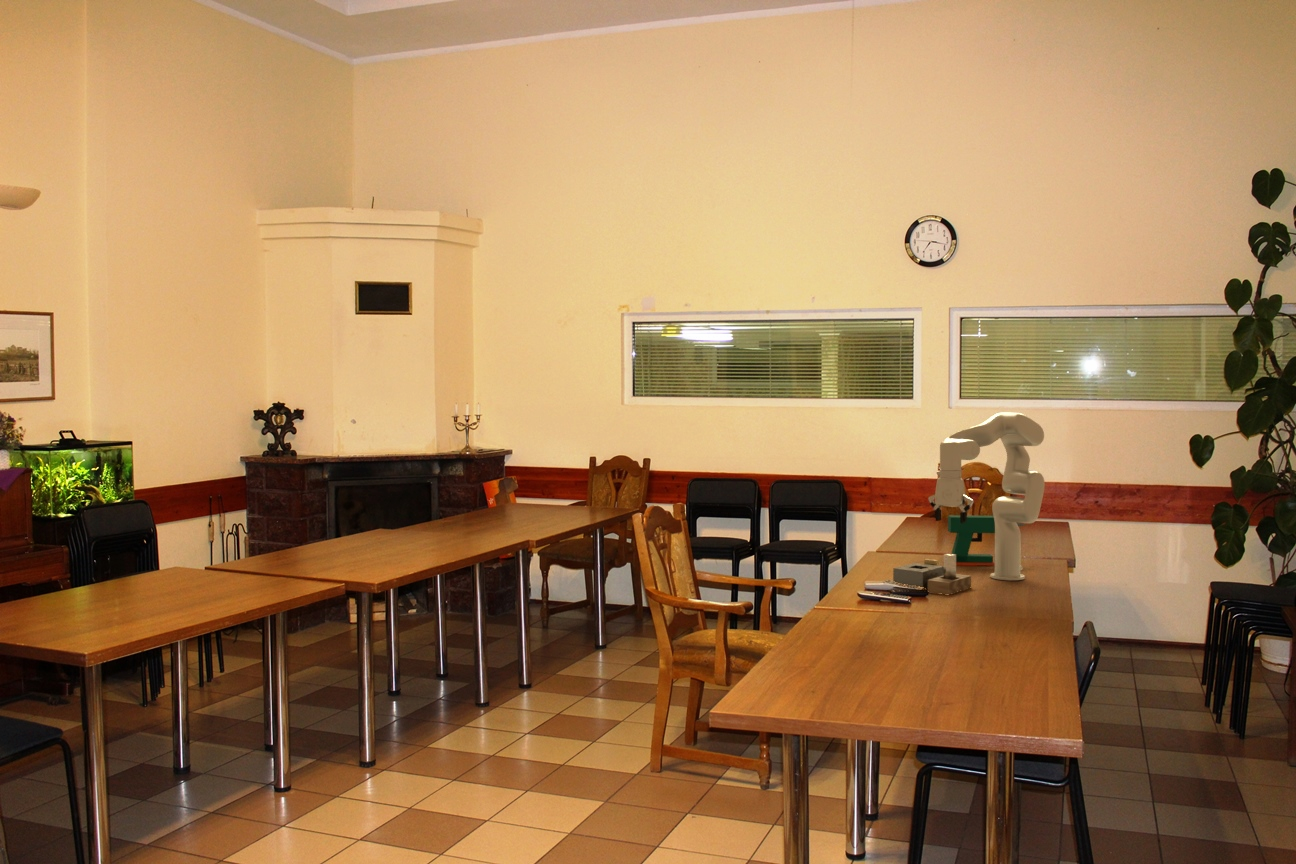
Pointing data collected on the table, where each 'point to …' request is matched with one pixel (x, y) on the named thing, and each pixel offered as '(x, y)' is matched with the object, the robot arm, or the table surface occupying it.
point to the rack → (949, 584)
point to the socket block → (917, 574)
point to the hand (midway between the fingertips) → (950, 521)
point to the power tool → (965, 538)
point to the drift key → (931, 562)
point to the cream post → (949, 566)
